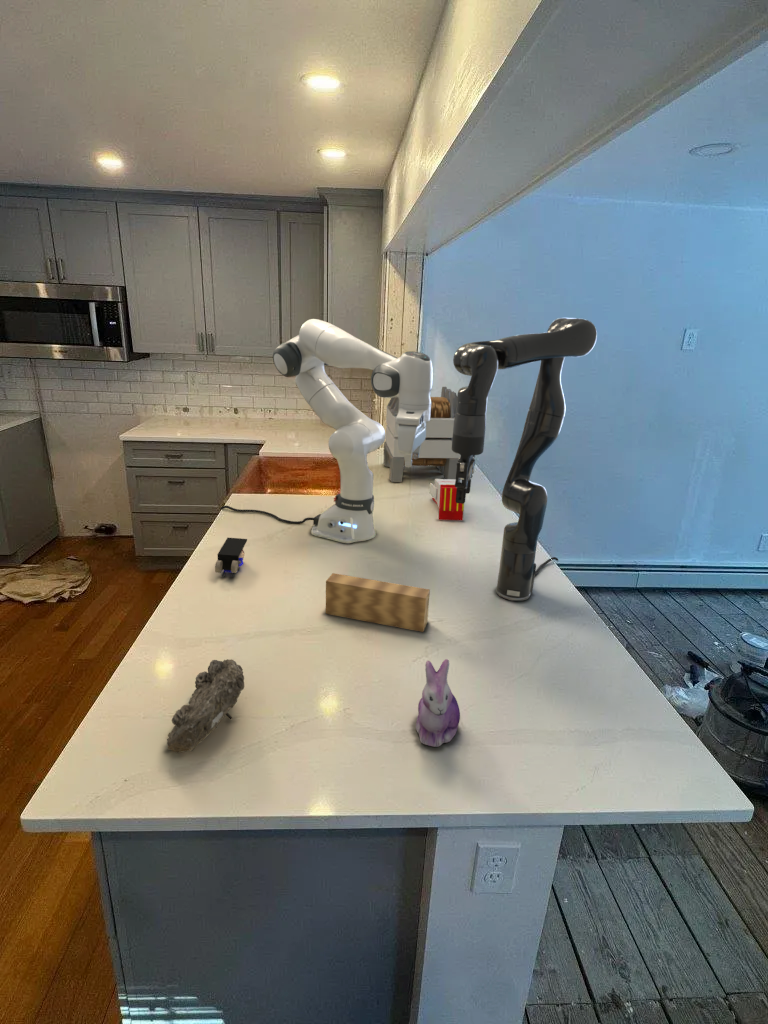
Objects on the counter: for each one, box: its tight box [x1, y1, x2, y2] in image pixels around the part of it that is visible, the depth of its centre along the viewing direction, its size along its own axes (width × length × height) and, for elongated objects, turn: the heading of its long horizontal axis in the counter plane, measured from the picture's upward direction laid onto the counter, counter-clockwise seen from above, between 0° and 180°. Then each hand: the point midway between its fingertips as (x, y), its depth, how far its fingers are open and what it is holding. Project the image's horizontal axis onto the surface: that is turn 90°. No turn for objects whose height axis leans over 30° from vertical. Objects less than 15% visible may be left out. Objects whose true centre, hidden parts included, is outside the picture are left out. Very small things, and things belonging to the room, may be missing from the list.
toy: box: [428, 478, 465, 521], centre depth 226 cm, size 12×13×30 cm
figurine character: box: [214, 537, 248, 578], centre depth 166 cm, size 7×8×15 cm
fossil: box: [166, 658, 245, 754], centre depth 106 cm, size 22×10×15 cm
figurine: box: [415, 658, 461, 748], centre depth 104 cm, size 9×10×15 cm
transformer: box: [383, 386, 461, 483], centre depth 268 cm, size 34×33×41 cm
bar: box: [325, 572, 431, 633], centre depth 144 cm, size 26×5×9 cm, turn 74°
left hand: (412, 462), depth 160 cm, fingers open, 8 cm apart
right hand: (462, 497), depth 139 cm, fingers open, 8 cm apart
